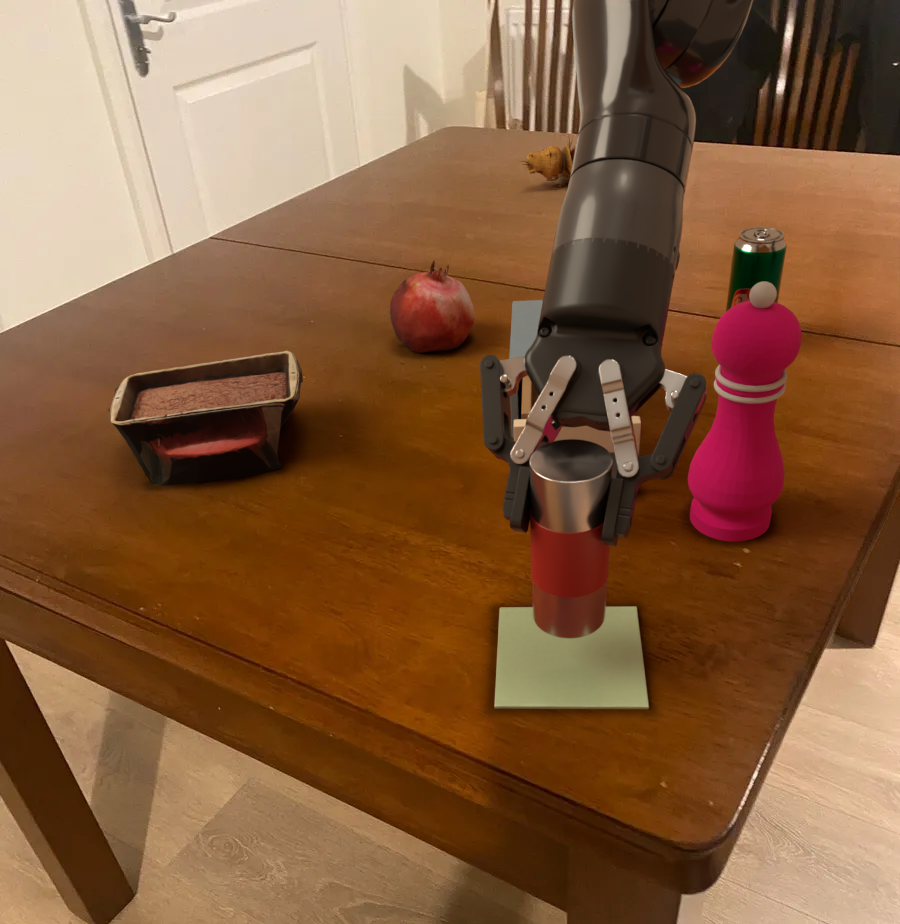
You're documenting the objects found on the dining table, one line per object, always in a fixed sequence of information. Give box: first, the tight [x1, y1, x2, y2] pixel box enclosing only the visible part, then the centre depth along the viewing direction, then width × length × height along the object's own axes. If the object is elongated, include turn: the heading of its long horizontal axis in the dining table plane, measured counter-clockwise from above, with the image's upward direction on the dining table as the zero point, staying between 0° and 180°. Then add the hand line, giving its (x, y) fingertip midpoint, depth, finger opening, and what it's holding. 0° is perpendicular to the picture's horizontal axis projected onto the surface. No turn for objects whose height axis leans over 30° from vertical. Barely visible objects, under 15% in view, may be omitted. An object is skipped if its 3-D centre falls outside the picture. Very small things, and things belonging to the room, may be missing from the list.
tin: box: [529, 439, 613, 639], centre depth 57 cm, size 5×5×12 cm
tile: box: [493, 605, 650, 710], centre depth 64 cm, size 10×10×1 cm
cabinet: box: [508, 299, 636, 439], centre depth 89 cm, size 13×11×8 cm
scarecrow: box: [519, 133, 576, 188], centre depth 144 cm, size 17×16×8 cm
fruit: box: [389, 259, 476, 354], centre depth 101 cm, size 9×10×10 cm
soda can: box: [725, 226, 788, 312], centre depth 95 cm, size 5×5×12 cm
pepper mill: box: [687, 281, 803, 542], centre depth 68 cm, size 7×7×20 cm
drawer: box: [513, 376, 642, 478], centre depth 79 cm, size 18×10×7 cm, turn 176°
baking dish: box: [107, 350, 304, 487], centre depth 87 cm, size 14×18×10 cm
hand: (563, 535), depth 55 cm, fingers closed on tin, 5 cm apart
